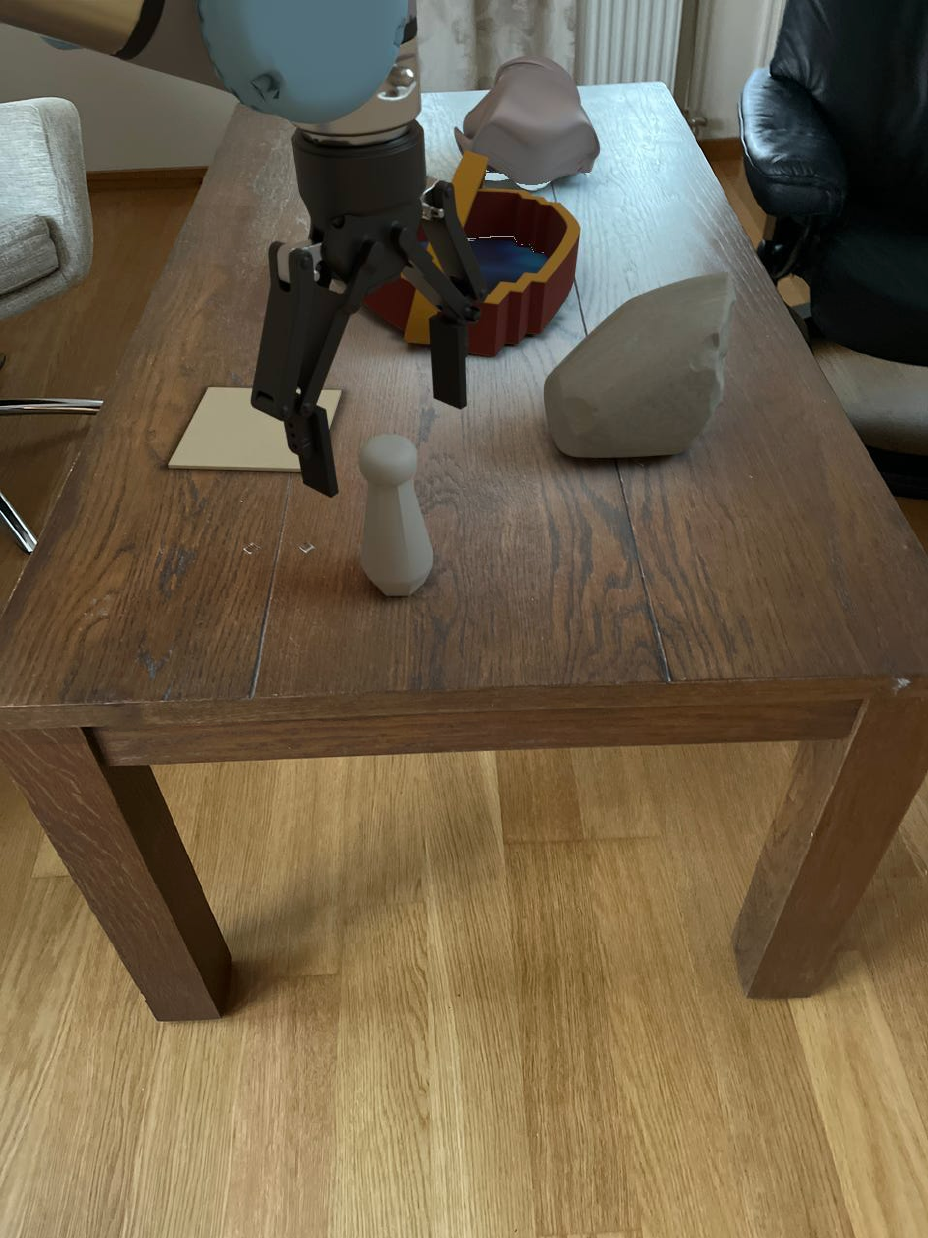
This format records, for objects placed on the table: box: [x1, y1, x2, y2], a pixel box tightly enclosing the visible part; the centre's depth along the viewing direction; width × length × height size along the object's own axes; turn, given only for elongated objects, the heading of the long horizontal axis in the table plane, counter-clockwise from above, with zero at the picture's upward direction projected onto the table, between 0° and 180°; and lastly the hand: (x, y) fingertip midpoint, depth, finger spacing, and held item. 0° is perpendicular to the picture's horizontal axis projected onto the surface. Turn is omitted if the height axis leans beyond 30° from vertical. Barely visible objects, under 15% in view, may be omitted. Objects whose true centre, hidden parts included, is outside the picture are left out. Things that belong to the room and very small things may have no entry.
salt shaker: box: [357, 433, 434, 597], centre depth 72 cm, size 6×6×13 cm
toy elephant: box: [453, 54, 601, 192], centre depth 135 cm, size 20×18×15 cm
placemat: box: [167, 386, 342, 473], centre depth 93 cm, size 14×14×1 cm
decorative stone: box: [543, 271, 737, 459], centre depth 86 cm, size 12×17×15 cm
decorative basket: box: [362, 150, 581, 358], centre depth 109 cm, size 34×29×15 cm
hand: (389, 443), depth 68 cm, fingers open, 13 cm apart
